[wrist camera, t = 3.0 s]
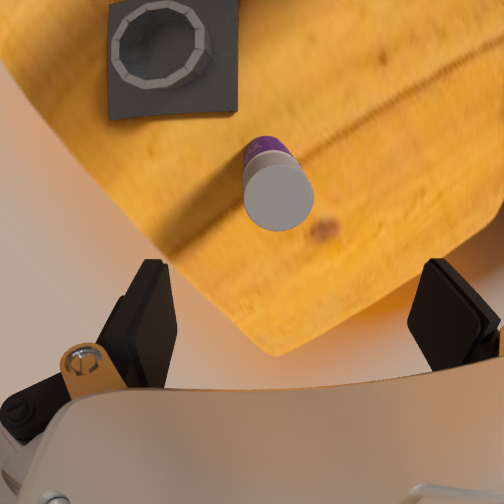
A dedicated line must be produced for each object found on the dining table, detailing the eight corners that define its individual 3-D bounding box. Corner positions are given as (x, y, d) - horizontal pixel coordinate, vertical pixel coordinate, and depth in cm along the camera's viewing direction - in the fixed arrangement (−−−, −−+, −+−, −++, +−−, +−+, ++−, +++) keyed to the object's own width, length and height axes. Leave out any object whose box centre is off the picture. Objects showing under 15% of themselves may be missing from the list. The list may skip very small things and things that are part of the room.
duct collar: (238, -9, 24) (237, -29, 19) (237, 110, 31) (235, 113, 25) (112, 6, 24) (89, -7, 19) (112, 119, 30) (88, 125, 25)
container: (248, 131, 32) (249, 155, 18) (292, 140, 32) (324, 172, 19) (240, 173, 34) (235, 226, 20) (282, 181, 34) (305, 239, 21)
